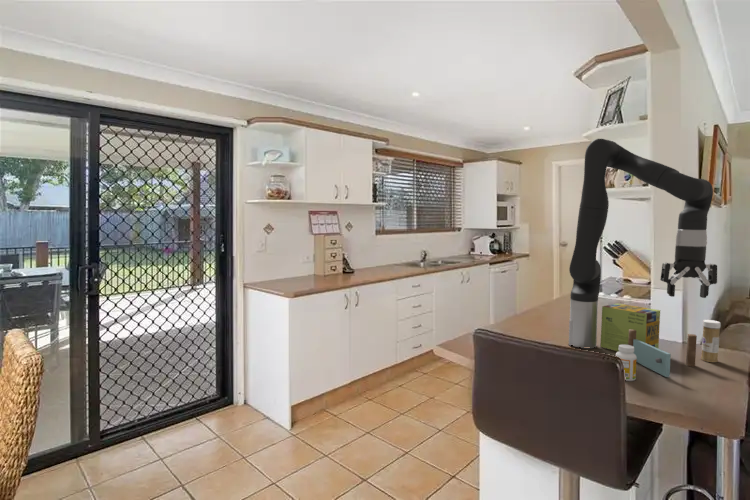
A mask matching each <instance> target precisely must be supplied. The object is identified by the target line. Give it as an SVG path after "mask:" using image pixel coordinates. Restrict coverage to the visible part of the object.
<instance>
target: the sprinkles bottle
mask: <svg viewBox="0 0 750 500" xmlns="http://www.w3.org/2000/svg"><path fill="white" fill-rule="evenodd" d="M721 326H722V325H721V322H720V321H717V320H714V319H703V320H702V330H703V331H702V339H701V356H700V360H701V361H704V362H706V363H719V360H718V357H719V346H720V329H721Z"/></svg>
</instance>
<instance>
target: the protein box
mask: <svg viewBox="0 0 750 500" xmlns="http://www.w3.org/2000/svg"><path fill="white" fill-rule="evenodd" d="M660 321H661V310H660V309H655V308H654V309H653V308H648V307H642V306H636V305H629V304H623V303H613V304H608V305H603V306H601V325H600V345H599V346H600V348H602V347H603V349H606V348H607V350H610V349H611V351H613V352H619V349H618V348H619V345H621V344H625V345H628V337H629V329H633V330H636V339H637V340H640V341H642V342H644V343H647V344H649V345H651V346H653V347H656V348H658V349H660V348H659V347H660V345H659V344H660V343H659V341H660V323H661V322H660Z"/></svg>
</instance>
